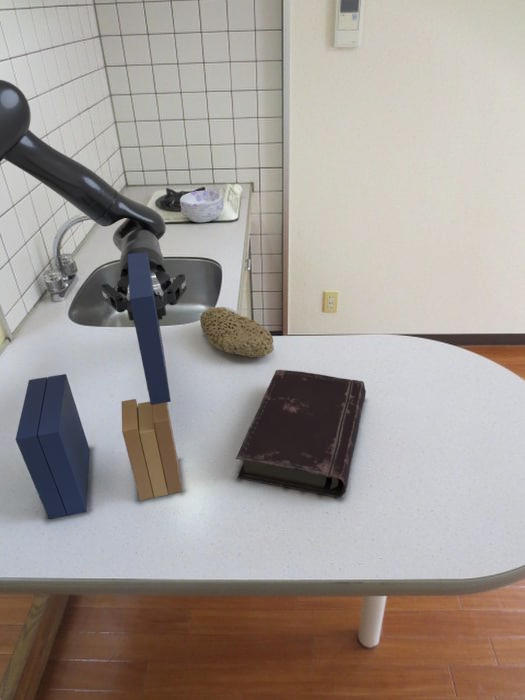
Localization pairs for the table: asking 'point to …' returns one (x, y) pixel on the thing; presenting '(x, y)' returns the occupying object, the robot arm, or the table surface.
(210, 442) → the table surface
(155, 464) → the tan books
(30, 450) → the navy book pair
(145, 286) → the navy book
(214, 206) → the paper bowls
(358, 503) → the table surface
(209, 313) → the sponge
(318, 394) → the diary
